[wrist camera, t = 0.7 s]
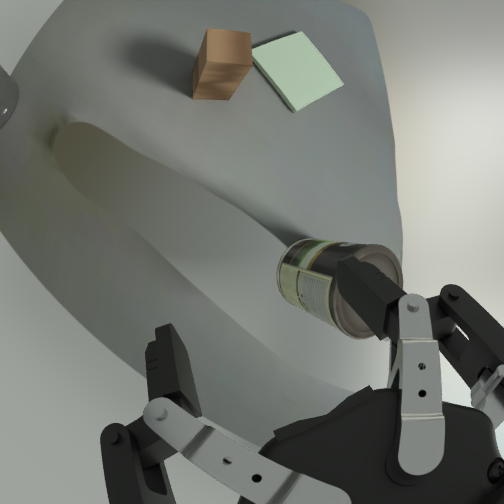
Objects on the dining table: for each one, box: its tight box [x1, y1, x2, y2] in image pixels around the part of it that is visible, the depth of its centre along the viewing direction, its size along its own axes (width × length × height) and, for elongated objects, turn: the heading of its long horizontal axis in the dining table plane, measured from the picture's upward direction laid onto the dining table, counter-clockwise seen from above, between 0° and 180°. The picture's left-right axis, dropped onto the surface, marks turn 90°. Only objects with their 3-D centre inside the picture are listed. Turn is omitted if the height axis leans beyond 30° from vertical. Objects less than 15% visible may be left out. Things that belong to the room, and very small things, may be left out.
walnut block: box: [193, 28, 253, 100], centre depth 29 cm, size 5×5×10 cm
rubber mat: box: [252, 32, 344, 113], centre depth 37 cm, size 12×12×1 cm
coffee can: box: [277, 238, 403, 339], centre depth 34 cm, size 10×10×14 cm
